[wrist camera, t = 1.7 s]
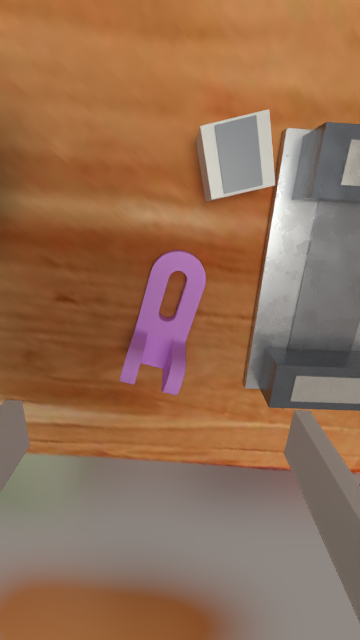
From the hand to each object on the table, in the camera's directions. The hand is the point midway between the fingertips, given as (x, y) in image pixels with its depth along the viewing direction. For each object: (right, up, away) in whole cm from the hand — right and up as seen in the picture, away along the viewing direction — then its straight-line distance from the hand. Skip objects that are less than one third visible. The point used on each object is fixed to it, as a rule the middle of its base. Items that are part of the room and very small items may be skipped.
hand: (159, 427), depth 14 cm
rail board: (+17, +9, +16) cm, 25 cm away
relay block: (+5, +19, +12) cm, 23 cm away
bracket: (0, +7, +17) cm, 18 cm away
